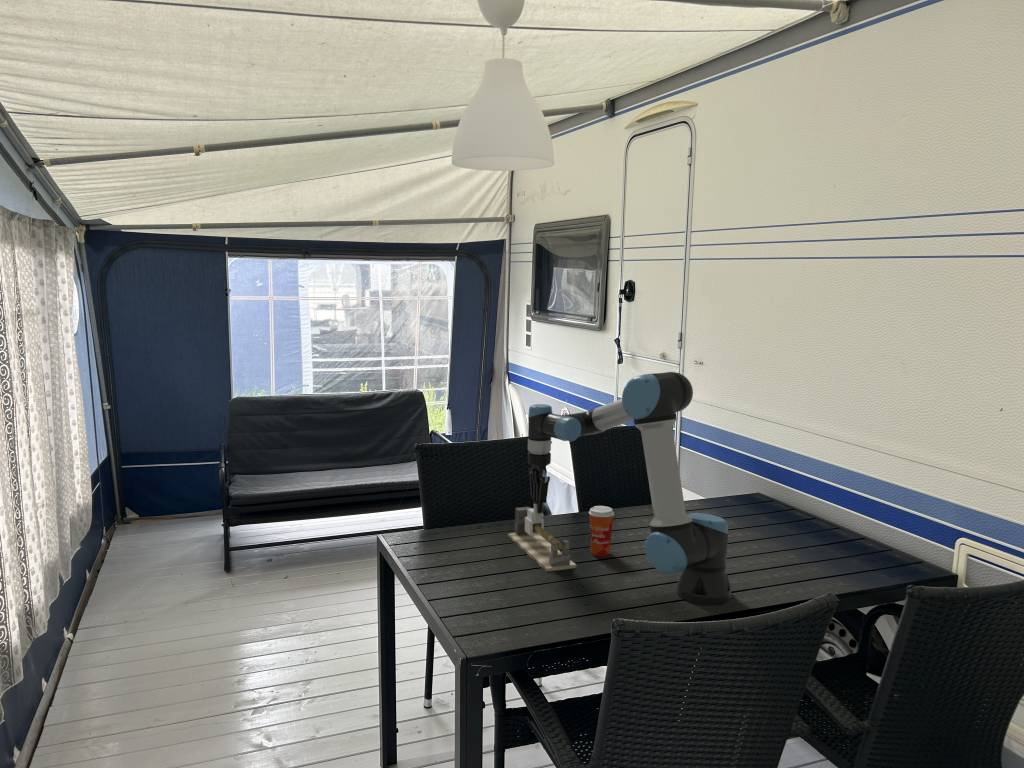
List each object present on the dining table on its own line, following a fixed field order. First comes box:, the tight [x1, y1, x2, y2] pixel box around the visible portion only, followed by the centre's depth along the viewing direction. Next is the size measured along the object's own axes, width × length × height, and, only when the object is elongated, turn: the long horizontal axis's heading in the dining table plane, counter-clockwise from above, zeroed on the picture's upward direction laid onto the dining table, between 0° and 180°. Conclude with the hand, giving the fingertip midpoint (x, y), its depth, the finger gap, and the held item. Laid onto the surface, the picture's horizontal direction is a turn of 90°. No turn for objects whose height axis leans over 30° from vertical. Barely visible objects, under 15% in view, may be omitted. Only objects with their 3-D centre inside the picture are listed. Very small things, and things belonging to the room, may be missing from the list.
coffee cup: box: [588, 505, 615, 557], centre depth 251 cm, size 8×8×15 cm
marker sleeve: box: [525, 507, 545, 536], centre depth 257 cm, size 5×5×8 cm
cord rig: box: [507, 506, 577, 572], centre depth 252 cm, size 34×10×10 cm, turn 21°
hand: (538, 521), depth 253 cm, fingers closed
